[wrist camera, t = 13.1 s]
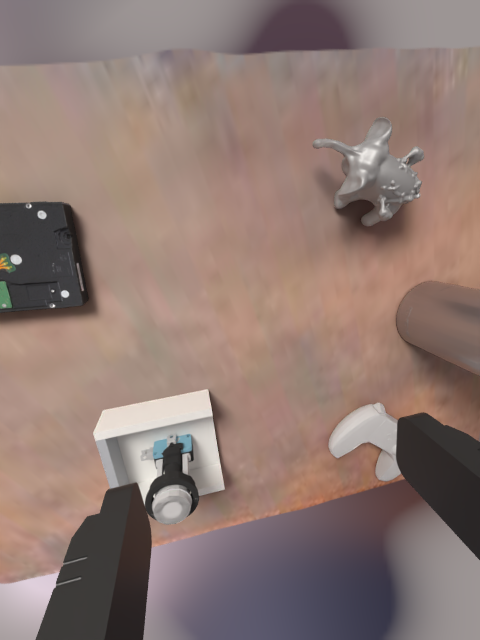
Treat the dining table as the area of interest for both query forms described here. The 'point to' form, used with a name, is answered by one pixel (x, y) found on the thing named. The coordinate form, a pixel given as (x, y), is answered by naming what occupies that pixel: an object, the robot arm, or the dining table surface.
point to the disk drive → (39, 257)
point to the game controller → (369, 437)
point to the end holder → (153, 425)
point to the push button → (171, 480)
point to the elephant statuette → (376, 173)
